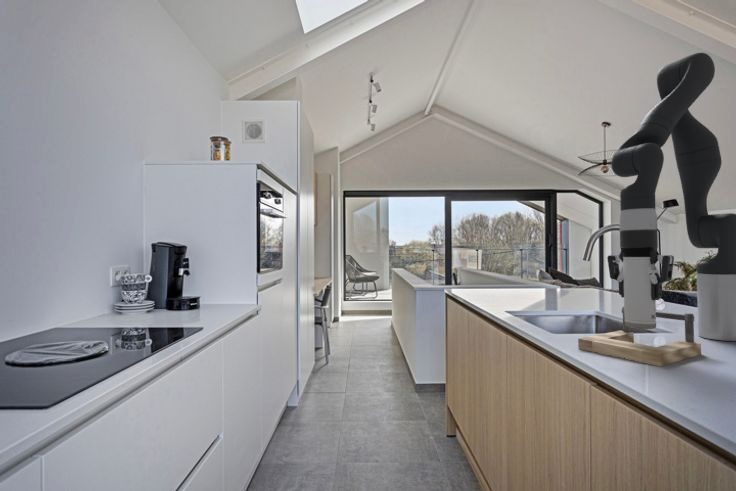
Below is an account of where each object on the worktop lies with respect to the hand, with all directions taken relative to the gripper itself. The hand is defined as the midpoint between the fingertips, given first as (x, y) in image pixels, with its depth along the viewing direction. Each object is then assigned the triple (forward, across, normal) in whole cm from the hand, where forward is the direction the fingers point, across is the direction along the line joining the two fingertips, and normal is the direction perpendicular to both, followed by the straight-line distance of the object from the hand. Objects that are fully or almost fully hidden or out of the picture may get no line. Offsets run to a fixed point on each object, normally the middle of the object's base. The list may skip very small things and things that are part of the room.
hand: (639, 298), depth 97 cm
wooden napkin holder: (+12, 0, +2) cm, 13 cm away
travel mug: (+7, 0, 0) cm, 7 cm away
